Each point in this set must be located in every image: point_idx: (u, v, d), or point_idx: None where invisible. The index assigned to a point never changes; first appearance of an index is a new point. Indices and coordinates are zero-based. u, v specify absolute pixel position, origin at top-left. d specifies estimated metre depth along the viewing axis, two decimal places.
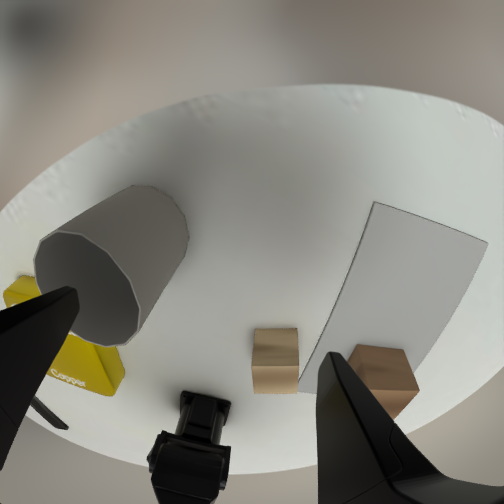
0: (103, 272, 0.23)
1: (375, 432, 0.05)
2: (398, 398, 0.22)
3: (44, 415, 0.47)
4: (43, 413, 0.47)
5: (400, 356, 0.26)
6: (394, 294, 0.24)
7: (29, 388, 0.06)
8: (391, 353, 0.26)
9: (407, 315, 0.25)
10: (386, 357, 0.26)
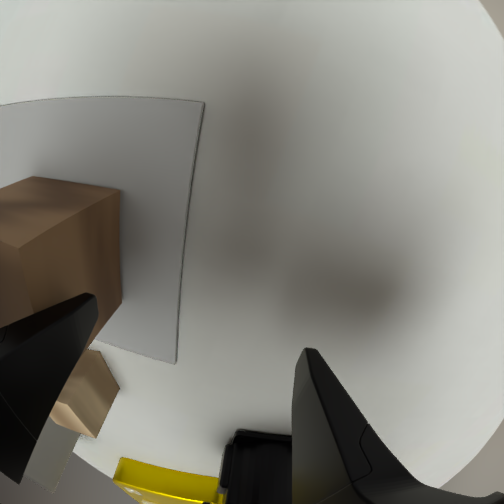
0: None
1: (344, 432, 0.05)
2: None
3: None
4: None
5: None
6: None
7: (48, 399, 0.06)
8: None
9: None
10: None
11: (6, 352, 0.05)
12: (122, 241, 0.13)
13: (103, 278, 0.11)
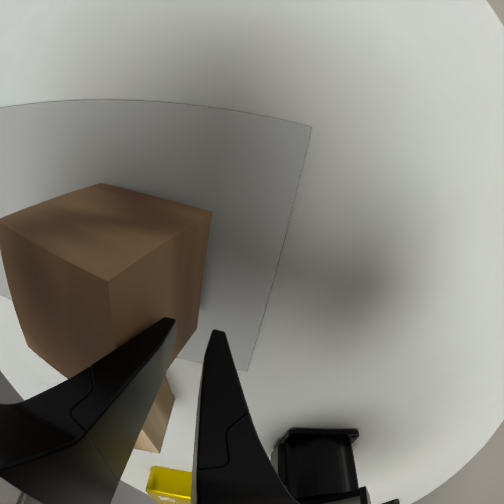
0: None
1: (213, 416, 0.05)
2: (18, 280, 0.07)
3: None
4: None
5: None
6: None
7: (132, 437, 0.06)
8: None
9: None
10: None
11: (100, 402, 0.05)
12: (213, 255, 0.13)
13: (185, 306, 0.11)
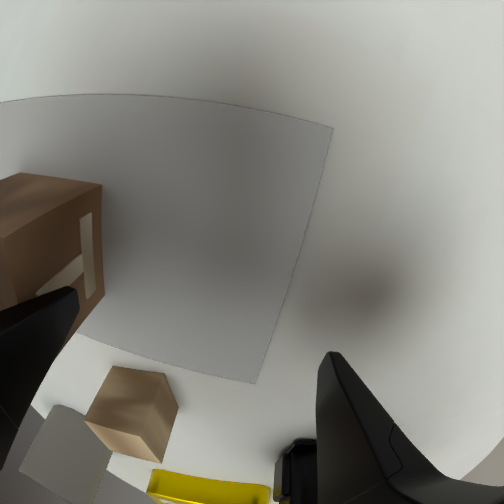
0: None
1: (375, 432, 0.05)
2: None
3: None
4: None
5: None
6: None
7: (29, 388, 0.06)
8: None
9: None
10: None
11: None
12: (222, 265, 0.12)
13: None
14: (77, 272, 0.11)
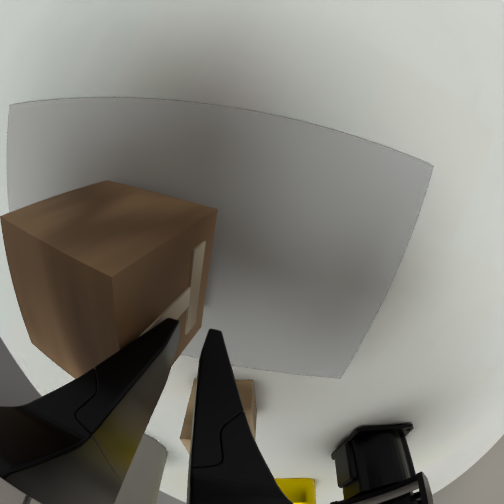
0: None
1: (208, 415, 0.05)
2: None
3: None
4: None
5: None
6: None
7: (136, 439, 0.06)
8: None
9: None
10: None
11: (104, 404, 0.05)
12: (340, 276, 0.14)
13: (87, 353, 0.08)
14: (183, 307, 0.10)
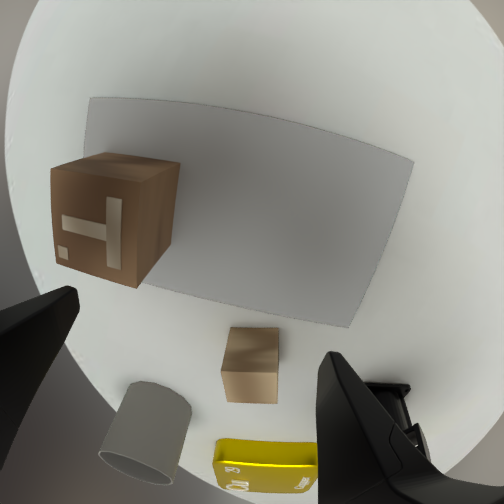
0: None
1: (375, 432, 0.05)
2: None
3: None
4: None
5: (149, 193, 0.14)
6: None
7: (29, 388, 0.06)
8: (144, 215, 0.14)
9: (197, 196, 0.19)
10: (148, 225, 0.15)
11: None
12: (347, 238, 0.19)
13: None
14: (99, 235, 0.14)
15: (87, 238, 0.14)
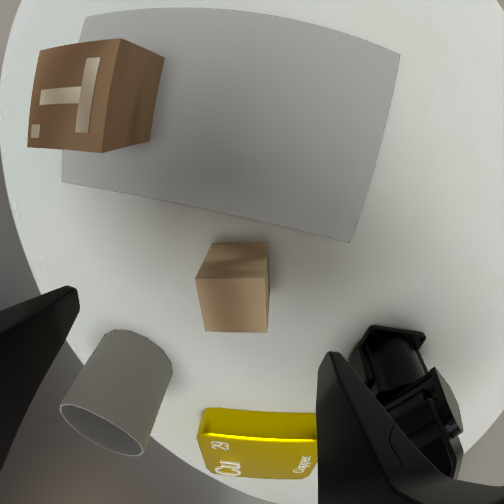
0: None
1: (375, 432, 0.05)
2: None
3: None
4: None
5: (128, 57, 0.11)
6: None
7: (29, 388, 0.06)
8: (120, 75, 0.11)
9: (179, 87, 0.16)
10: (124, 91, 0.12)
11: None
12: (339, 127, 0.16)
13: None
14: (72, 99, 0.11)
15: (60, 107, 0.11)
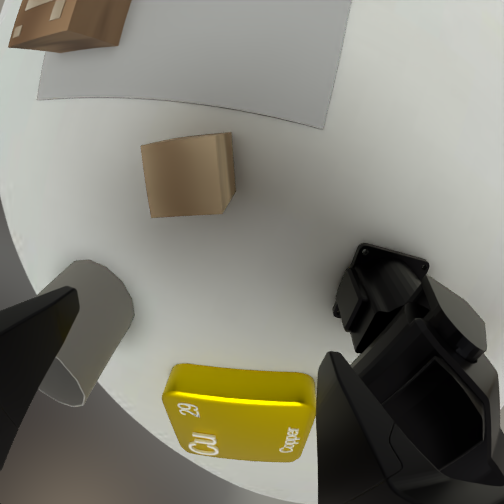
0: None
1: (375, 432, 0.05)
2: None
3: None
4: None
5: None
6: None
7: (29, 388, 0.06)
8: None
9: None
10: None
11: None
12: (300, 15, 0.13)
13: None
14: None
15: (41, 7, 0.08)
